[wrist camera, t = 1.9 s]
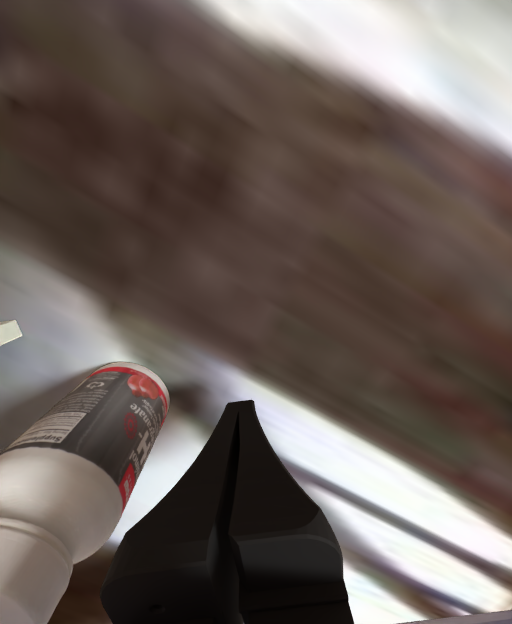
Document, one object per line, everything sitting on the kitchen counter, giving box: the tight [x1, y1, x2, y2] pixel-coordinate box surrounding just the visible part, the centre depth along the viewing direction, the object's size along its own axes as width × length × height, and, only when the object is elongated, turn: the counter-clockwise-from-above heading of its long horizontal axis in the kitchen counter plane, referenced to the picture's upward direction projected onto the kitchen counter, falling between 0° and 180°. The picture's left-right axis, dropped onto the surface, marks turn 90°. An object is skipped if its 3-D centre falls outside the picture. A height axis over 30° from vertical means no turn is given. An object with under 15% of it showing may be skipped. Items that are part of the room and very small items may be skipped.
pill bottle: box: [0, 362, 170, 624], centre depth 11 cm, size 5×5×10 cm
